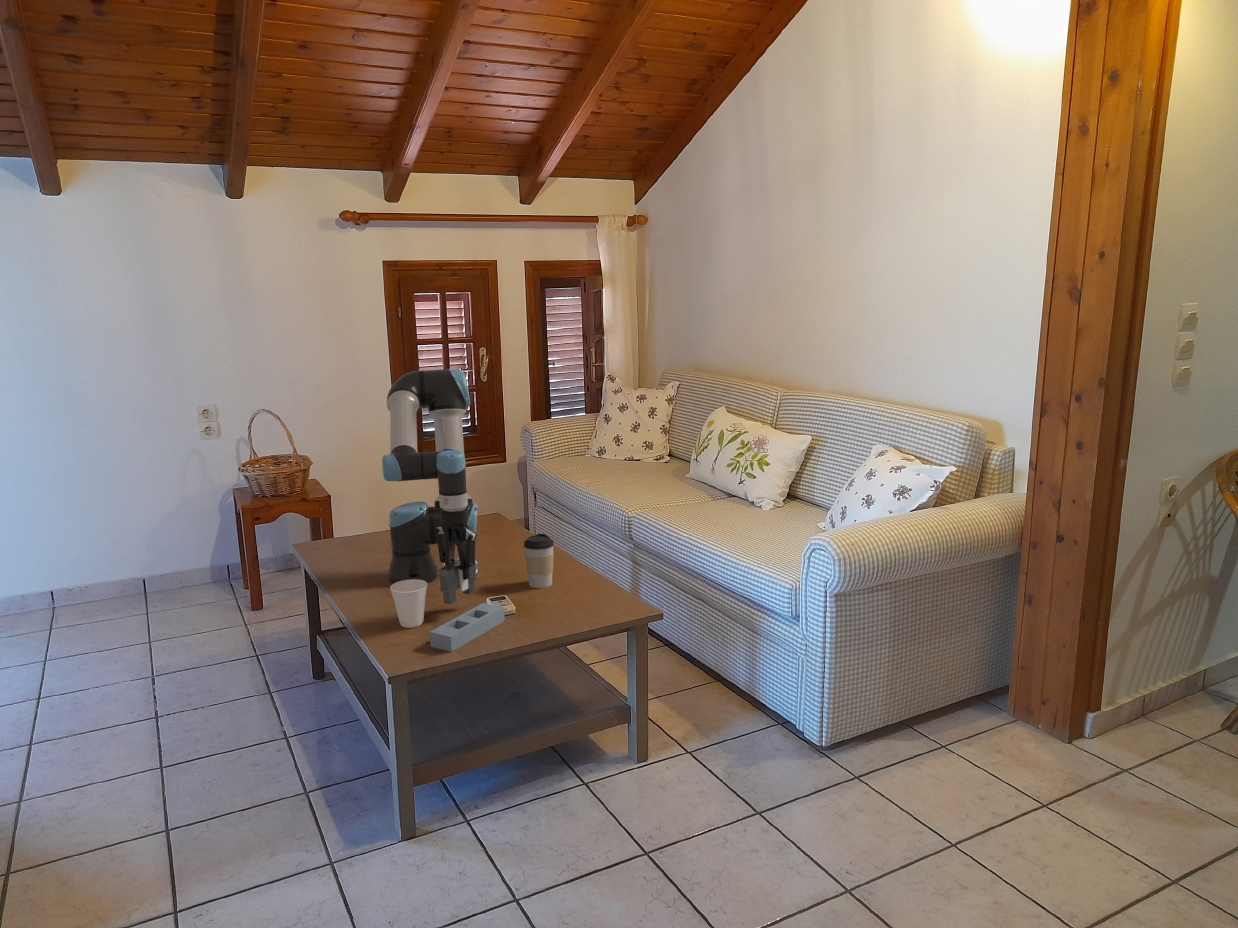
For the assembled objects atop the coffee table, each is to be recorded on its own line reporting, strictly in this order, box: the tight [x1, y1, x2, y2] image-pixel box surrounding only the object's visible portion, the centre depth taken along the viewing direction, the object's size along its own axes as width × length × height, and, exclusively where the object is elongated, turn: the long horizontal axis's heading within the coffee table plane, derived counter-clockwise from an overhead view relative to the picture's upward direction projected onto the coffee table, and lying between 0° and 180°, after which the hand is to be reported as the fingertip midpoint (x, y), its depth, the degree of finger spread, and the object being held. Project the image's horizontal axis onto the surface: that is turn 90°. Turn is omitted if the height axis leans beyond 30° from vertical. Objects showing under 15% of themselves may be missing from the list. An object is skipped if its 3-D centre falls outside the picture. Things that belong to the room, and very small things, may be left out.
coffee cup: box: [523, 533, 555, 589], centre depth 266 cm, size 9×9×15 cm
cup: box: [389, 579, 429, 629], centre depth 239 cm, size 10×10×11 cm
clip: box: [438, 559, 477, 606], centre depth 245 cm, size 3×12×10 cm, turn 150°
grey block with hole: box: [428, 602, 506, 653], centre depth 232 cm, size 7×22×4 cm, turn 150°
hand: (458, 588), depth 246 cm, fingers closed on clip, 3 cm apart
